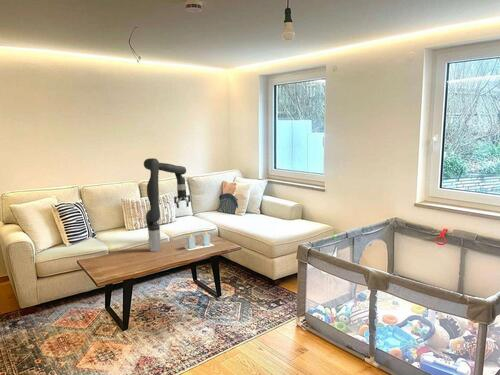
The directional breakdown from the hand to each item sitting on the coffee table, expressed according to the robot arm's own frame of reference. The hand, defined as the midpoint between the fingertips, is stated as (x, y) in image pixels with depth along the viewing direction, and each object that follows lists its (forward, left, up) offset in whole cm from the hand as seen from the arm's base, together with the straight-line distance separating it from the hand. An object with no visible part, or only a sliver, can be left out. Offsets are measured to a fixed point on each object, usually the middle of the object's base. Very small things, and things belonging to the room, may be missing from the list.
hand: (182, 207), depth 334 cm
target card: (+3, -27, -30) cm, 41 cm away
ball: (+9, -27, -20) cm, 35 cm away
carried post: (-4, -27, -30) cm, 40 cm away
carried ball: (-4, -27, -20) cm, 34 cm away
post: (+9, -27, -30) cm, 41 cm away
